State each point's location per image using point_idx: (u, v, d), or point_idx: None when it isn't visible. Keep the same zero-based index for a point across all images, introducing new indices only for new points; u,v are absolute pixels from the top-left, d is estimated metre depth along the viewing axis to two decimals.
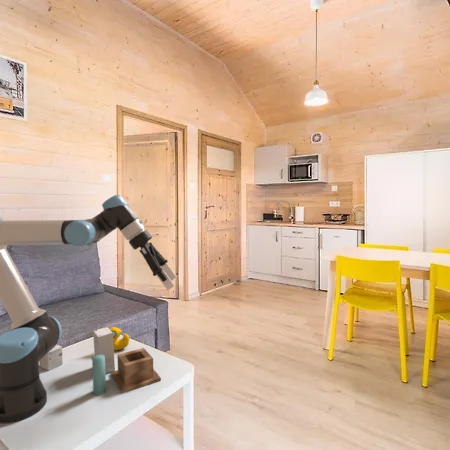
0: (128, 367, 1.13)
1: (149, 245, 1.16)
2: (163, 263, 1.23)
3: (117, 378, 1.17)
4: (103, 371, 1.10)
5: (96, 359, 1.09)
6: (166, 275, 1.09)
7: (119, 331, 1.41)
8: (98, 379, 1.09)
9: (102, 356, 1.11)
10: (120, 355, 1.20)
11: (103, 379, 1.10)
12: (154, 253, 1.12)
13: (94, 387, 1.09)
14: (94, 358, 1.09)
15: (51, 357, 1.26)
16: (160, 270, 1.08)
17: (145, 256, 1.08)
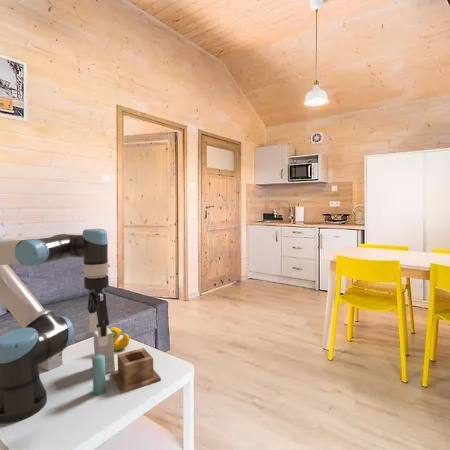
0: (128, 367, 1.13)
1: None
2: (93, 311, 1.15)
3: (117, 378, 1.17)
4: (103, 371, 1.10)
5: (96, 359, 1.09)
6: None
7: (119, 331, 1.41)
8: (98, 379, 1.09)
9: (102, 356, 1.11)
10: (120, 355, 1.20)
11: (103, 379, 1.10)
12: None
13: (94, 387, 1.09)
14: (94, 358, 1.09)
15: (51, 357, 1.26)
16: None
17: (100, 304, 1.02)
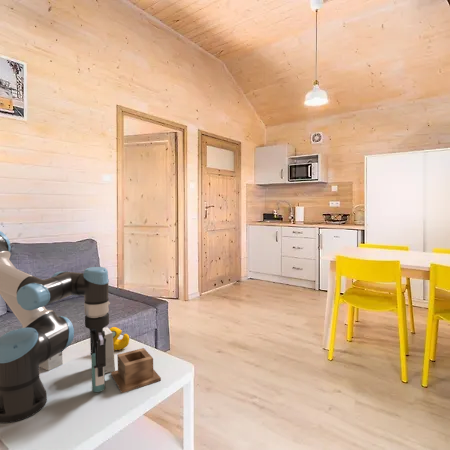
0: (128, 367, 1.13)
1: None
2: None
3: (117, 378, 1.17)
4: None
5: None
6: (103, 371, 1.09)
7: (119, 331, 1.41)
8: None
9: None
10: (120, 355, 1.20)
11: None
12: None
13: (93, 384, 1.09)
14: (93, 355, 1.09)
15: (51, 357, 1.26)
16: None
17: (99, 348, 1.04)
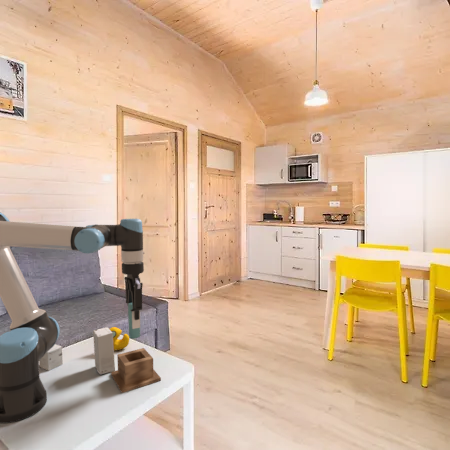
0: (128, 367, 1.13)
1: None
2: None
3: (117, 378, 1.17)
4: None
5: None
6: (139, 315, 1.16)
7: (119, 331, 1.41)
8: None
9: None
10: (120, 355, 1.20)
11: None
12: None
13: (130, 331, 1.17)
14: (130, 304, 1.17)
15: (51, 357, 1.26)
16: None
17: (136, 291, 1.12)
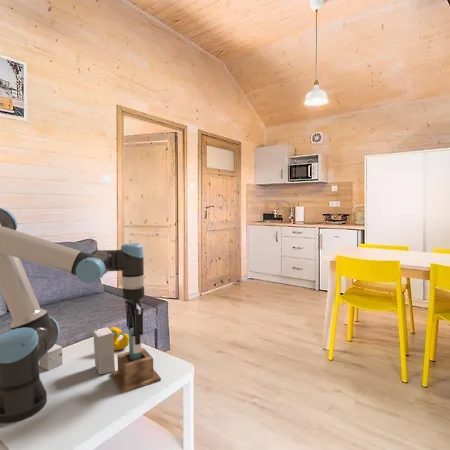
0: (128, 367, 1.13)
1: None
2: (133, 328, 1.21)
3: (117, 378, 1.17)
4: None
5: None
6: (140, 339, 1.17)
7: (119, 331, 1.41)
8: None
9: None
10: (120, 355, 1.20)
11: None
12: None
13: (131, 357, 1.17)
14: (131, 330, 1.18)
15: (51, 357, 1.26)
16: None
17: (137, 317, 1.13)
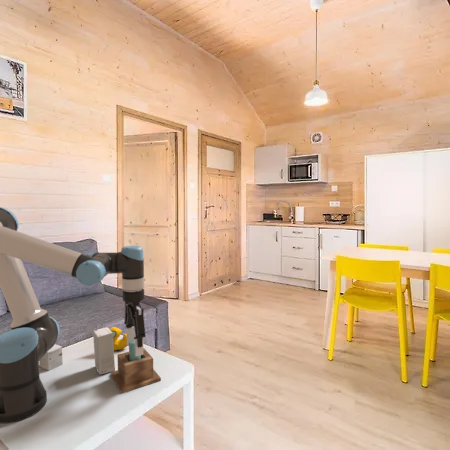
0: (128, 367, 1.13)
1: None
2: (130, 326, 1.23)
3: (117, 378, 1.17)
4: None
5: (133, 343, 1.18)
6: (142, 342, 1.15)
7: (119, 331, 1.41)
8: None
9: None
10: (120, 355, 1.20)
11: None
12: None
13: None
14: (131, 343, 1.18)
15: (51, 357, 1.26)
16: None
17: (138, 318, 1.12)
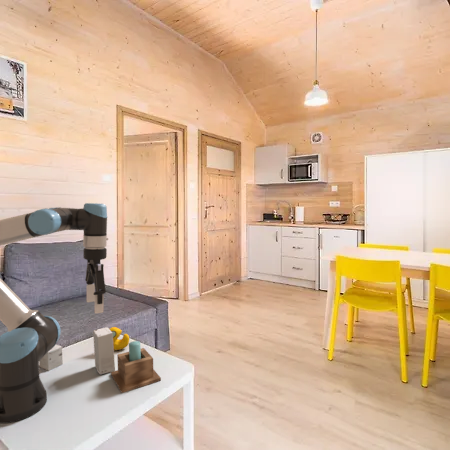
0: (128, 367, 1.13)
1: None
2: (91, 282, 1.21)
3: (117, 378, 1.17)
4: (139, 356, 1.18)
5: (133, 345, 1.17)
6: (103, 299, 1.10)
7: (119, 331, 1.41)
8: None
9: (138, 342, 1.19)
10: (120, 355, 1.20)
11: None
12: None
13: None
14: (131, 344, 1.17)
15: (51, 357, 1.26)
16: None
17: (98, 273, 1.08)
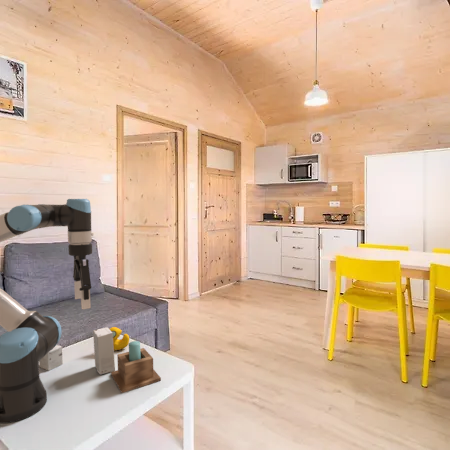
0: (128, 367, 1.13)
1: None
2: (79, 279, 1.20)
3: (117, 378, 1.17)
4: (139, 356, 1.18)
5: (132, 345, 1.17)
6: (89, 295, 1.09)
7: (119, 331, 1.41)
8: None
9: (137, 342, 1.19)
10: (120, 355, 1.20)
11: None
12: None
13: None
14: (130, 344, 1.17)
15: (52, 357, 1.26)
16: None
17: (83, 268, 1.07)
